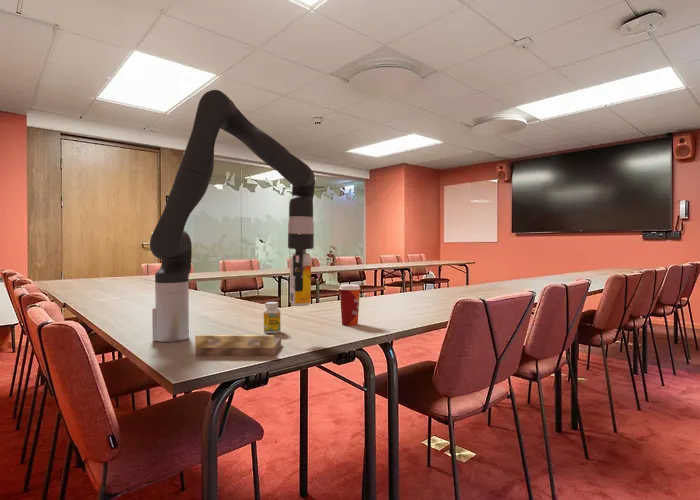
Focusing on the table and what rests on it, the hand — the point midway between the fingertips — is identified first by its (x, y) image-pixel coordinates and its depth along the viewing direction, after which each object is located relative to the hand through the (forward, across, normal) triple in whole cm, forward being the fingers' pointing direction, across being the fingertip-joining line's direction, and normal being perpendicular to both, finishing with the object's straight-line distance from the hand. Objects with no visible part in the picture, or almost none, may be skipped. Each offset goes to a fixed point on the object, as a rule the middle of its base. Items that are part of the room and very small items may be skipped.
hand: (300, 289), depth 121 cm
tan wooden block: (+15, +10, -15) cm, 24 cm away
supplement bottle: (+15, -12, -11) cm, 22 cm away
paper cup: (+15, -25, +14) cm, 33 cm away
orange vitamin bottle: (+5, 0, 0) cm, 5 cm away
